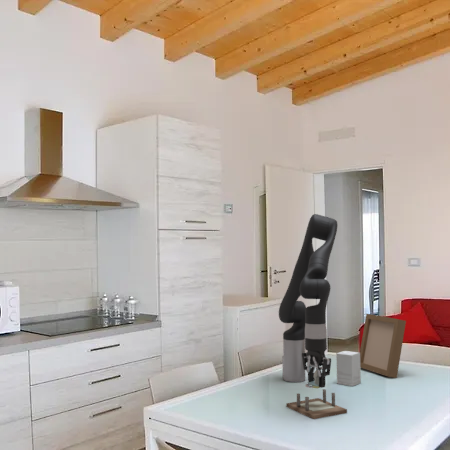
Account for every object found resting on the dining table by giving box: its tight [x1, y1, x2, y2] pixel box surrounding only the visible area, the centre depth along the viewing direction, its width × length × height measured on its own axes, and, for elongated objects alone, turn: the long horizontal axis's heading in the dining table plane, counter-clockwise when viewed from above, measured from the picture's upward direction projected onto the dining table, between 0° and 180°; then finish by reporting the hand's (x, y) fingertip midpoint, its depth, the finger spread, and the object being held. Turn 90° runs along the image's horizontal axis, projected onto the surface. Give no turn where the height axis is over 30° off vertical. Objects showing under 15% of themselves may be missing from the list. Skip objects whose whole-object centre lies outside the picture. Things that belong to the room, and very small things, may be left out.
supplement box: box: [335, 350, 362, 387], centre depth 227 cm, size 7×7×13 cm
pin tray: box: [285, 389, 348, 420], centre depth 191 cm, size 16×14×6 cm
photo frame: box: [359, 313, 407, 379], centre depth 247 cm, size 15×22×25 cm
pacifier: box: [304, 369, 326, 389], centre depth 192 cm, size 7×6×6 cm
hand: (316, 385), depth 191 cm, fingers closed on pacifier, 5 cm apart
